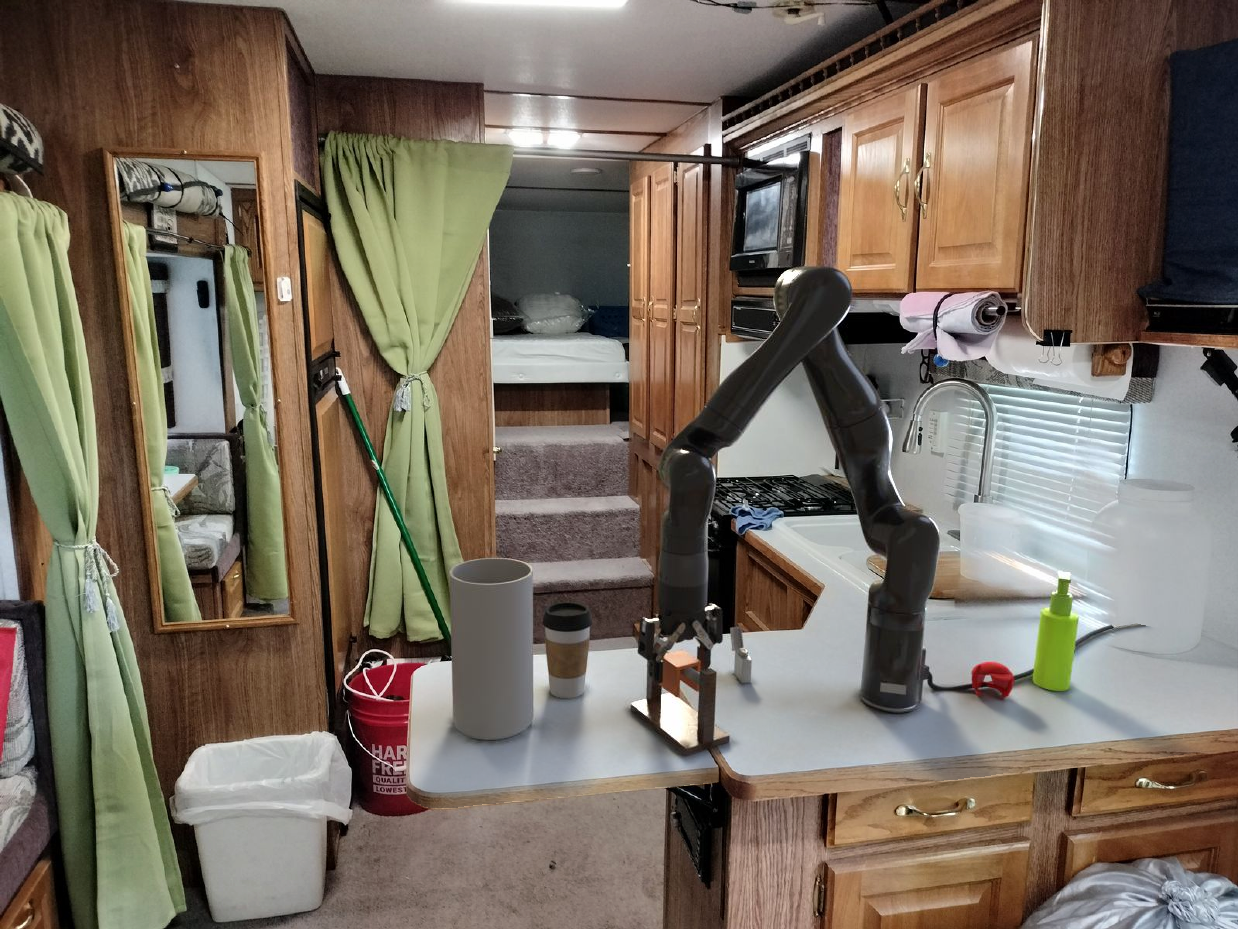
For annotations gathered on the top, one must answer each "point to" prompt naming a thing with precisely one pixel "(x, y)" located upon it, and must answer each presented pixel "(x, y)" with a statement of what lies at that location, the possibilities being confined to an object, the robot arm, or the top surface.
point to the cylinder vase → (492, 647)
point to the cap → (993, 677)
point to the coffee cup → (567, 647)
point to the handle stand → (683, 714)
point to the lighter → (740, 656)
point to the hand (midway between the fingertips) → (680, 675)
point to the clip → (678, 671)
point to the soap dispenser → (1056, 639)
